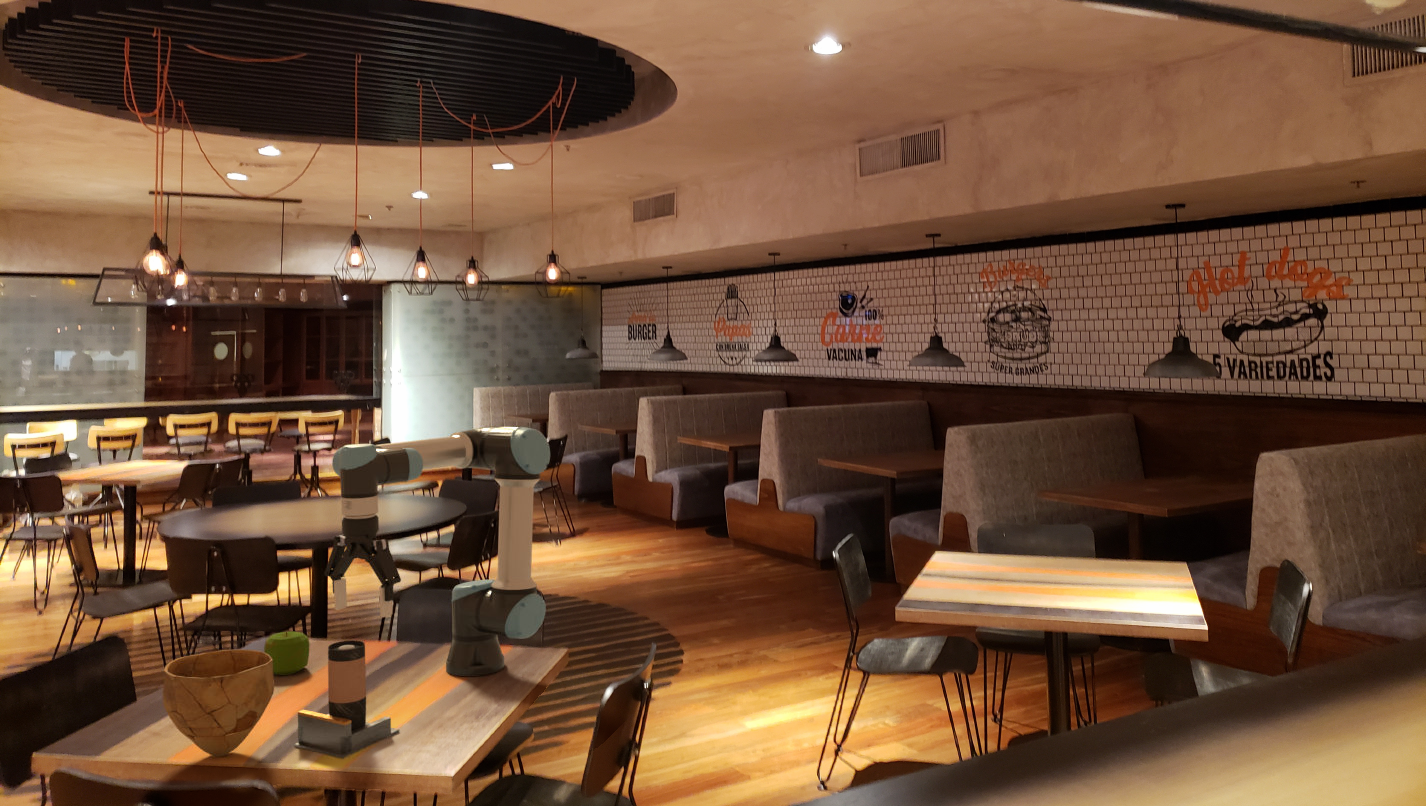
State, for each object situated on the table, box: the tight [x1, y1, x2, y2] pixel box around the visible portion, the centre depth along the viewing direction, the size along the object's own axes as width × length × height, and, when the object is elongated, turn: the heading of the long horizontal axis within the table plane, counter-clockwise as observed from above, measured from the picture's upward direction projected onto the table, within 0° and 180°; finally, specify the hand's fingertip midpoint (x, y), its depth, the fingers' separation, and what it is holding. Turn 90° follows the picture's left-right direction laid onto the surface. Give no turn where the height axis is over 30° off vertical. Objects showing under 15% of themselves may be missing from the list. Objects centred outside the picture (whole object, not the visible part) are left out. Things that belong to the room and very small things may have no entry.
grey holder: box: [294, 709, 400, 760], centre depth 211 cm, size 16×14×7 cm
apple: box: [263, 630, 311, 676], centre depth 258 cm, size 11×11×11 cm
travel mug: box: [327, 640, 367, 731], centre depth 210 cm, size 8×8×20 cm
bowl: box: [162, 648, 275, 758], centre depth 202 cm, size 21×20×20 cm
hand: (363, 612), depth 213 cm, fingers open, 13 cm apart
